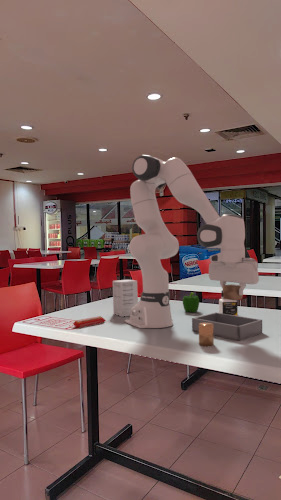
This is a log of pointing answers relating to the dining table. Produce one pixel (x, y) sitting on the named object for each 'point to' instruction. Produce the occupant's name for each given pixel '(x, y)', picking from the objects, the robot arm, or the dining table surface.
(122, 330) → the dining table surface
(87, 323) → the candy bar
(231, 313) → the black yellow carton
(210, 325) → the copper tin
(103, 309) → the dining table surface
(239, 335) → the box
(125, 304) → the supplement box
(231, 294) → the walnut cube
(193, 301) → the bell pepper
